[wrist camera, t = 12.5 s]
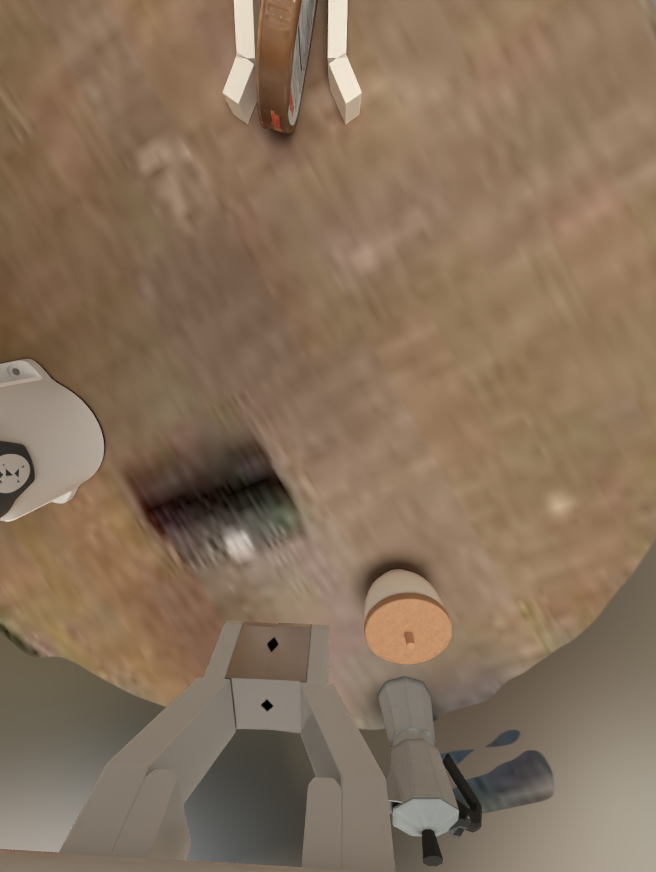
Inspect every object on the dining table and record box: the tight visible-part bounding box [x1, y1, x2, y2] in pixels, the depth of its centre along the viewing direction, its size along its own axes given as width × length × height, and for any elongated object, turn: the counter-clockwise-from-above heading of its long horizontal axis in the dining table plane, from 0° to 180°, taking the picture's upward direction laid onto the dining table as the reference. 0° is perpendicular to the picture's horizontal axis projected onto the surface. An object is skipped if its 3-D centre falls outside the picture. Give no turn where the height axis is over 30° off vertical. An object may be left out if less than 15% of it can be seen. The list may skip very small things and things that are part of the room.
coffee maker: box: [378, 676, 482, 866], centre depth 46 cm, size 15×9×18 cm, turn 71°
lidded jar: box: [364, 569, 452, 664], centre depth 43 cm, size 11×11×9 cm
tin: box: [256, 0, 318, 134], centre depth 25 cm, size 15×3×8 cm, turn 167°
